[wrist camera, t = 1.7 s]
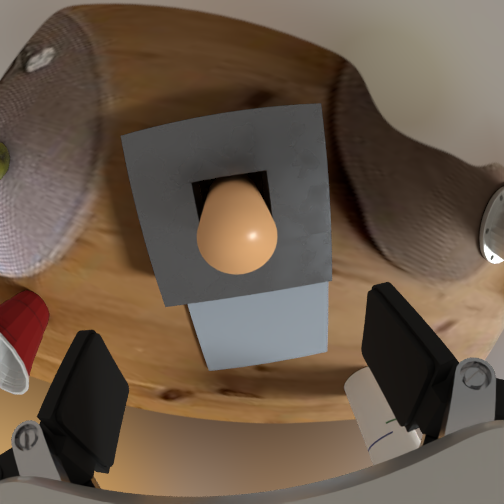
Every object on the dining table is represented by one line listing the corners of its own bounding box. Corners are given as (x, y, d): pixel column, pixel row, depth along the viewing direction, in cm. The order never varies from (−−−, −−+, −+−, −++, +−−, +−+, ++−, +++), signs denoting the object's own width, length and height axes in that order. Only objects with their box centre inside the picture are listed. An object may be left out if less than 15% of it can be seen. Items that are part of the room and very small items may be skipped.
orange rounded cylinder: (255, 168, 27) (272, 193, 17) (261, 217, 29) (281, 267, 19) (203, 177, 27) (189, 206, 17) (212, 225, 29) (205, 279, 19)
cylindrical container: (337, 382, 41) (388, 522, 18) (377, 359, 40) (445, 494, 17) (352, 399, 44) (398, 521, 21) (388, 378, 42) (446, 496, 20)
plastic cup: (64, 287, 30) (18, 349, 20) (66, 346, 34) (35, 407, 23) (4, 261, 28) (-48, 308, 17) (10, 320, 32) (-27, 371, 21)
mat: (326, 272, 32) (328, 275, 32) (325, 348, 37) (327, 351, 37) (186, 295, 32) (185, 297, 32) (209, 367, 37) (209, 370, 37)
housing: (304, 107, 25) (321, 103, 20) (317, 258, 32) (332, 280, 27) (138, 133, 25) (120, 135, 20) (173, 281, 31) (165, 306, 27)
